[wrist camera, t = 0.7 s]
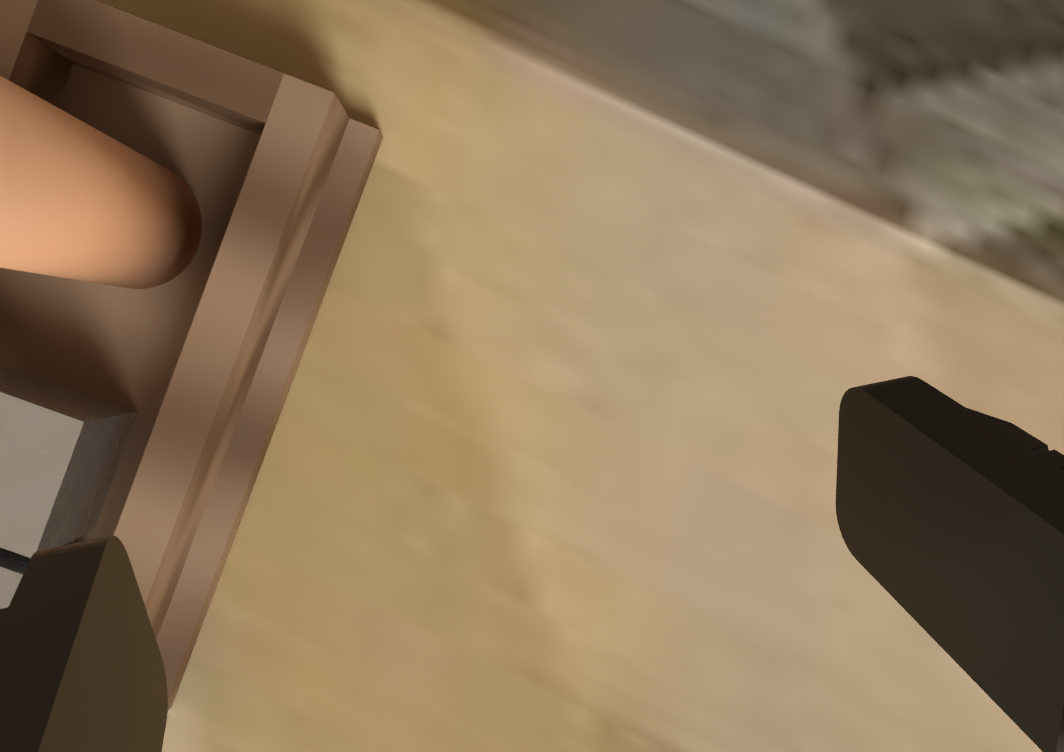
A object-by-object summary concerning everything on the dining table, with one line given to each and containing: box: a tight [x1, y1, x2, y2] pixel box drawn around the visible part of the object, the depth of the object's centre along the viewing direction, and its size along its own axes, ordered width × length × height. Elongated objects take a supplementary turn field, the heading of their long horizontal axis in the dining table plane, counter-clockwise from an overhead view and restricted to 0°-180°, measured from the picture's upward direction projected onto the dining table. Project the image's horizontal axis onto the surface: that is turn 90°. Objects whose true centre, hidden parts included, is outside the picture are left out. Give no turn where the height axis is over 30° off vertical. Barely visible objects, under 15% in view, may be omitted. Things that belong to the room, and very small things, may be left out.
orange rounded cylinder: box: [0, 76, 202, 289], centre depth 23 cm, size 4×4×12 cm
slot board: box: [0, 0, 383, 711], centre depth 29 cm, size 20×12×4 cm, turn 160°
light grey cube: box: [0, 367, 138, 558], centre depth 28 cm, size 4×4×4 cm
